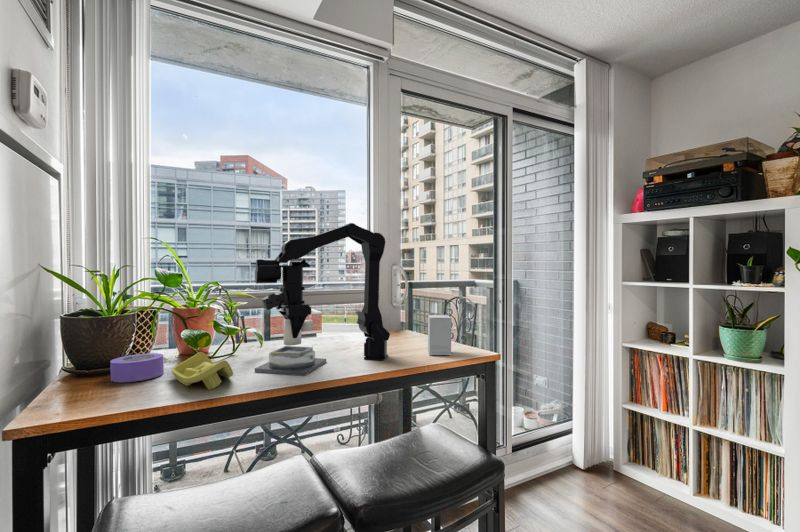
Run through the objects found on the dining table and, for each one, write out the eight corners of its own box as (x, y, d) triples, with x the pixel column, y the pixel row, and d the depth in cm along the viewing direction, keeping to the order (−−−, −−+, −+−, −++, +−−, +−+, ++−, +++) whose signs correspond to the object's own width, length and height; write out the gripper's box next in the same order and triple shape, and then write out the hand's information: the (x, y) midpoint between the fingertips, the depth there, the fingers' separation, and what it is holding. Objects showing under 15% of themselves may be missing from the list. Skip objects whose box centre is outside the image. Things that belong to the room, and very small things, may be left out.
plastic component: (169, 369, 105) (205, 348, 112) (183, 393, 107) (218, 370, 113) (188, 381, 90) (229, 355, 97) (204, 408, 92) (244, 381, 98)
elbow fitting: (285, 345, 114) (285, 321, 114) (282, 342, 119) (282, 318, 119) (314, 343, 118) (314, 319, 118) (310, 340, 123) (310, 317, 123)
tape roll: (99, 383, 101) (99, 363, 101) (127, 371, 112) (127, 353, 112) (149, 381, 102) (148, 361, 102) (171, 370, 113) (171, 352, 113)
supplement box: (451, 356, 133) (451, 317, 132) (428, 356, 133) (429, 317, 133) (449, 351, 140) (449, 314, 140) (427, 351, 140) (427, 314, 140)
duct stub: (326, 362, 124) (326, 345, 124) (305, 375, 109) (305, 356, 109) (281, 359, 127) (281, 343, 127) (254, 372, 112) (254, 354, 112)
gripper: (258, 282, 122) (258, 333, 122) (269, 285, 106) (269, 345, 106) (295, 281, 127) (295, 330, 127) (311, 284, 111) (311, 341, 111)
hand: (292, 336), depth 118 cm, fingers closed on elbow fitting, 5 cm apart
